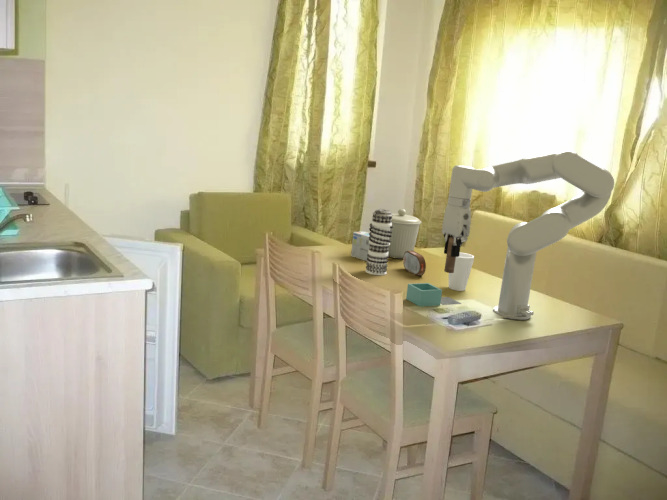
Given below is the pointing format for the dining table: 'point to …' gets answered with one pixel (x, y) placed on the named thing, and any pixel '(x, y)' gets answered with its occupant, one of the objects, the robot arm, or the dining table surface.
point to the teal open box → (424, 294)
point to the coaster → (448, 301)
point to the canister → (403, 234)
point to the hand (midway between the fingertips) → (451, 254)
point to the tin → (414, 262)
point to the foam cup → (461, 272)
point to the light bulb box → (360, 245)
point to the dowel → (450, 260)
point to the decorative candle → (379, 242)
